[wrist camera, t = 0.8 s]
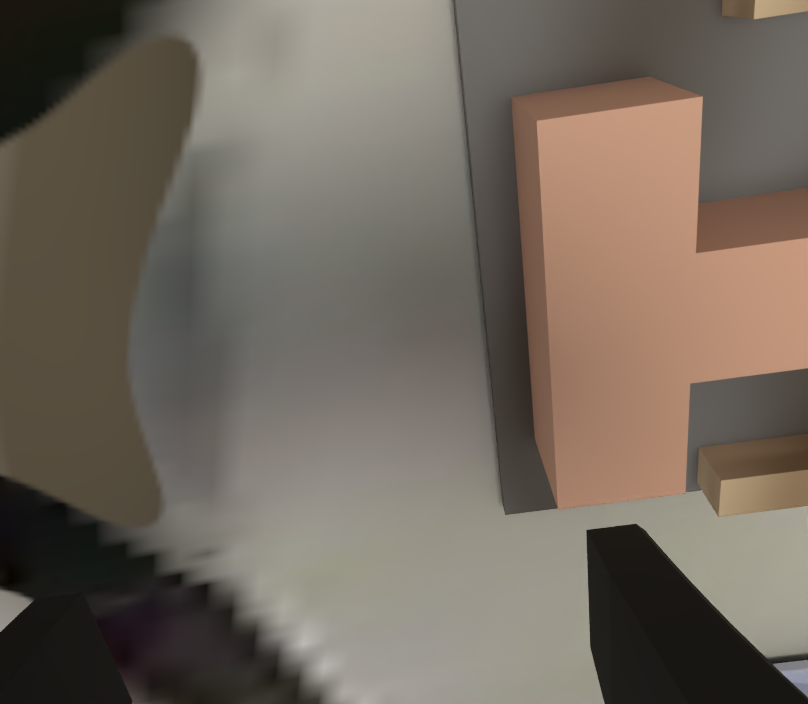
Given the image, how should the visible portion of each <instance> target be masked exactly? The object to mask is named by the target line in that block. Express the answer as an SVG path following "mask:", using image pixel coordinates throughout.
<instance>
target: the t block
mask: <svg viewBox="0 0 808 704" xmlns="http://www.w3.org/2000/svg"><path fill="white" fill-rule="evenodd" d="M511 102H512V117H513V131H514V145H515V160H516V174H517V189H518V203H519V217H520V232H521V246H522V261H523V275H524V289H525V304H526V318H527V332H528V347H529V361H530V376H531V390H532V404H533V419H534V433H535V441H536V444H537V447H538V450H539V453H540V456H541V459H542V462H543V465H544V468H545V471H546V474H547V477H548V480H549V483H550V486H551V489H552V492H553V495H554V498H555V502H556V505H557V508H558V509H566V508H574V507H582V506H590V505H598V504H606V503H614V502H622V501H630V500H638V499H645V498H653V497H661V496H669V495H677V494H685V491H686V468H687V446H688V423H689V400H690V384H691V383H699V382H706V381H714V380H722V379H729V378H737V377H744V376H752V375H759V374H767V373H775V372H782V371H790V370H797V369H805V368H808V188H805V189H798V190H791V191H784V192H777V193H770V194H763V195H755V196H748V197H741V198H734V199H727V200H720V201H713V202H706V203H699V204H698V195H699V172H700V150H701V127H702V104H703V96H700V95H698V94H695V93H692V92H689V91H687V90H684V89H681V88H679V87H676V86H673V85H671V84H668V83H665V82H662V81H660V80H657V79H654V78H652V77H643V78H636V79H630V80H623V81H616V82H609V83H603V84H596V85H589V86H582V87H576V88H569V89H562V90H556V91H549V92H542V93H535V94H529V95H522V96H515V97H511Z"/></svg>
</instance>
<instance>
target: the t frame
mask: <svg viewBox="0 0 808 704" xmlns="http://www.w3.org/2000/svg"><path fill="white" fill-rule="evenodd" d="M454 10H455V20H456V30H457V41H458V51H459V61H460V71H461V81H462V92H463V102H464V112H465V122H466V132H467V143H468V153H469V163H470V173H471V183H472V194H473V204H474V214H475V224H476V235H477V245H478V255H479V265H480V275H481V286H482V296H483V306H484V316H485V326H486V337H487V347H488V357H489V367H490V377H491V388H492V398H493V408H494V418H495V428H496V439H497V449H498V459H499V469H500V480H501V490H502V500H503V507H504V511H505V515H508V514H516V513H524V512H532V511H540V510H548V509H556V508H557V505H556V502H555V498H554V495H553V492H552V489H551V486H550V483H549V480H548V477H547V474H546V471H545V468H544V465H543V462H542V459H541V456H540V453H539V450H538V447H537V444H536V441H535V433H534V419H533V404H532V390H531V376H530V361H529V347H528V332H527V318H526V304H525V289H524V275H523V261H522V246H521V232H520V217H519V203H518V189H517V174H516V160H515V145H514V131H513V117H512V102H511V97H515V96H522V95H529V94H535V93H542V92H549V91H556V90H562V89H569V88H576V87H582V86H589V85H596V84H603V83H609V82H616V81H623V80H630V79H636V78H643V77H652V78H654V79H657V80H660V81H662V82H665V83H668V84H671V85H673V86H676V87H679V88H681V89H684V90H687V91H689V92H692V93H695V94H698V95H700V96H703V104H702V127H701V150H700V172H699V195H698V204H699V203H706V202H713V201H720V200H727V199H734V198H741V197H748V196H755V195H763V194H770V193H777V192H784V191H791V190H798V189H805V188H808V0H454ZM699 490H702V491H703V493H704V494H705V496H706V497H707V499H708V501H709V502H710V504H711V505H712V507H713V509H714V510H715V512H716V514H717V515H718V517H721V516H729V515H737V514H745V513H753V512H761V511H769V510H778V509H786V508H794V507H802V506H808V368H805V369H797V370H790V371H782V372H775V373H767V374H759V375H752V376H744V377H737V378H729V379H722V380H714V381H706V382H699V383H691V384H690V400H689V423H688V446H687V468H686V491H685V492H691V491H699Z"/></svg>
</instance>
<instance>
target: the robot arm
mask: <svg viewBox="0 0 808 704" xmlns="http://www.w3.org/2000/svg"><path fill="white" fill-rule="evenodd" d="M587 559H588V589H589V619H590V647H591V651H592V655H593V659H594V663H595V667H596V671H597V675H598V679H599V683H600V687H601V691H602V695H603V699H604V702H605V704H808V660H801V661H793V662H784V663H776V664H772V663H771V662H770V661H769V660H768V659H767V658H766V657H765V656H764V655H763V654H762V653H761V652H759V651H758V650H757V649H756V648H755V647H754V646H753V645H752V644H751V643H750V642H749V641H748V640H747V639H746V638H745V637H744V636H743V635H742V634H741V633H740V632H739V631H738V630H737V629H736V628H735V627H734V626H733V625H732V624H731V623H730V622H729V621H728V620H727V619H726V618H725V617H724V616H723V615H722V614H721V613H720V612H719V611H718V610H717V609H716V608H715V607H714V606H713V605H712V604H711V603H710V602H709V600H708V599H707V598H706V597H705V596H704V595H703V594H702V593H701V592H700V591H699V590H698V589H697V588H696V587H695V586H694V585H693V584H692V583H691V581H690V580H689V579H688V578H687V577H686V576H685V575H684V574H683V573H682V572H681V571H680V570H679V568H678V567H677V566H676V565H675V564H674V563H673V562H672V561H671V560H670V558H669V557H668V556H667V555H666V554H665V553H664V552H663V551H662V549H661V548H660V547H659V546H658V545H657V544H656V543H655V542H654V540H653V539H652V538H651V537H650V536H649V535H648V533H647V532H646V531H645V530H644V529H642V528H641V527H640V526H638V525H637V524H632V525H623V526H615V527H607V528H599V529H591V530H587ZM0 704H132V699H131V697H130V695H129V693H128V690H127V688H126V686H125V684H124V682H123V679H122V677H121V675H120V673H119V671H118V668H117V666H116V664H115V662H114V660H113V658H112V655H111V653H110V651H109V649H108V647H107V644H106V642H105V640H104V638H103V636H102V633H101V631H100V629H99V627H98V625H97V622H96V620H95V618H94V616H93V614H92V612H91V609H90V607H89V605H88V603H87V601H86V598H85V596H84V594H83V593H76V594H68V595H60V596H52V597H44V598H37V599H35V600H34V601H33V602H32V603H31V604H30V605H29V606H28V607H27V608H26V609H24V610H23V611H22V612H21V613H20V614H19V615H18V616H17V617H16V618H15V619H14V620H13V621H12V622H11V623H9V624H8V625H7V626H6V627H5V629H4V630H2V631H1V632H0Z"/></svg>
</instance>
